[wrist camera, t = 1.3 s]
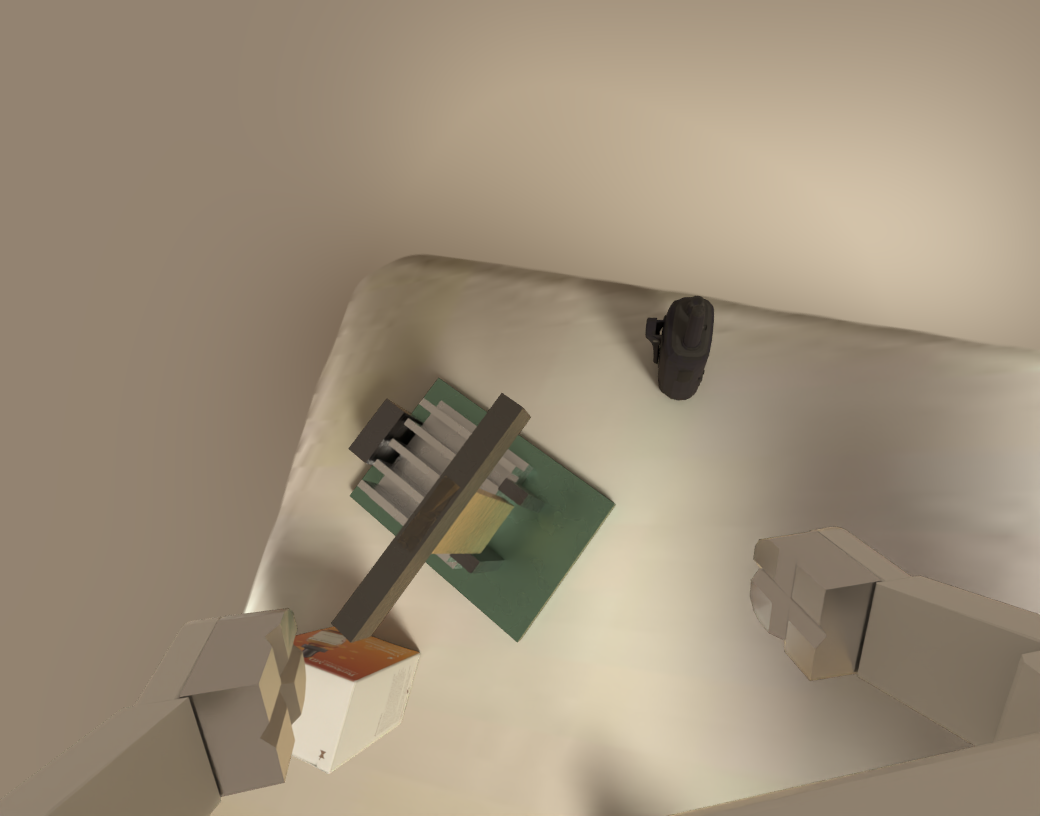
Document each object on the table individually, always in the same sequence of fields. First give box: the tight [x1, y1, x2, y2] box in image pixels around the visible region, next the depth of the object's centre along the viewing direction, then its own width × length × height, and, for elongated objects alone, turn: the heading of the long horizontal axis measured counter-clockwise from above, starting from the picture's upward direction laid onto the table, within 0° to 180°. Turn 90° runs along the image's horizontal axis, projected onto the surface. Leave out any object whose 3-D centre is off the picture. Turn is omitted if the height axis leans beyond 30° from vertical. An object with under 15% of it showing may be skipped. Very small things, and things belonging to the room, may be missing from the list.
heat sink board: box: [349, 378, 615, 642], centre depth 42 cm, size 19×13×8 cm
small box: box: [291, 627, 420, 774], centre depth 39 cm, size 8×6×10 cm
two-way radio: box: [646, 296, 714, 400], centre depth 38 cm, size 6×4×15 cm
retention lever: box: [331, 393, 531, 643], centre depth 32 cm, size 1×14×12 cm, turn 143°
